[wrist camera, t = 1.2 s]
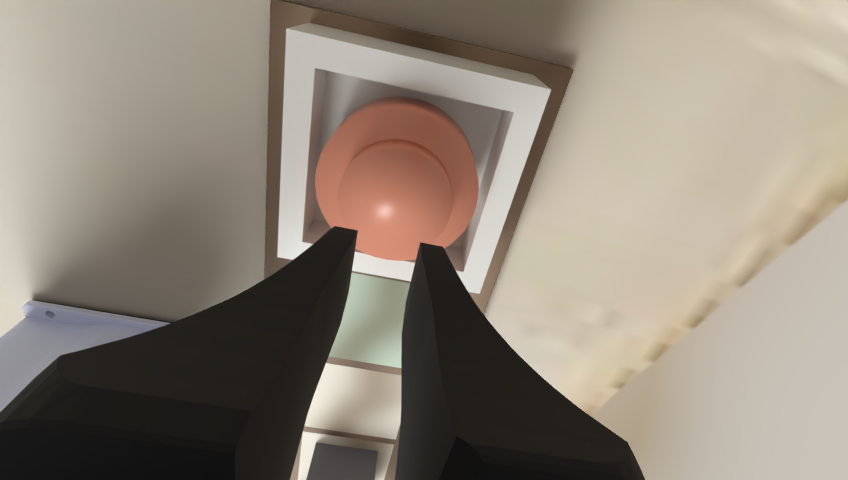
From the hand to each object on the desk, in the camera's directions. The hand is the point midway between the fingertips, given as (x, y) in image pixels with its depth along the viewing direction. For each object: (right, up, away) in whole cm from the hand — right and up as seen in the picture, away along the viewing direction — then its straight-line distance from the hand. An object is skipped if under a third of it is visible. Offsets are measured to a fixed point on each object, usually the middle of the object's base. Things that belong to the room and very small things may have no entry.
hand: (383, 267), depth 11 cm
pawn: (-5, -16, +20) cm, 26 cm away
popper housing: (0, +4, +8) cm, 9 cm away
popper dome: (0, +4, +6) cm, 7 cm away
